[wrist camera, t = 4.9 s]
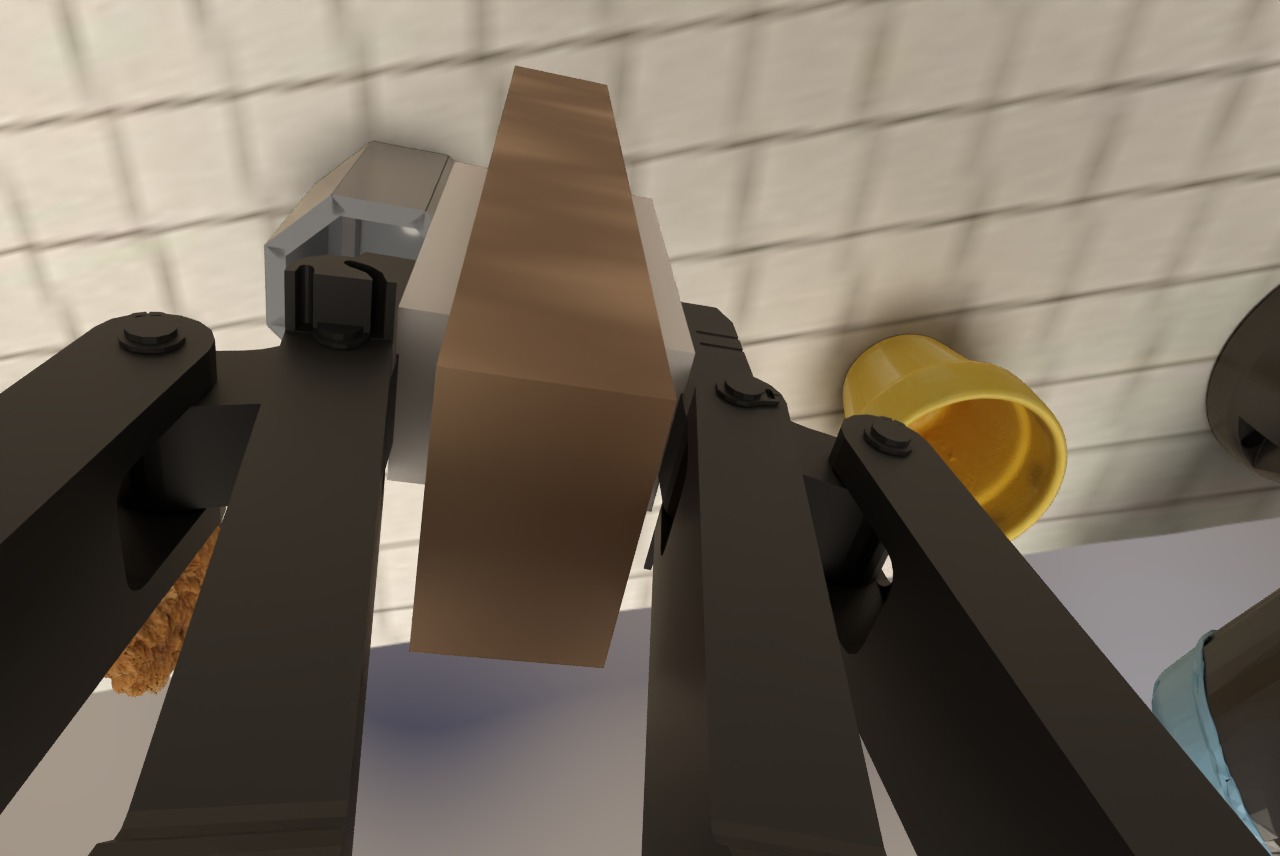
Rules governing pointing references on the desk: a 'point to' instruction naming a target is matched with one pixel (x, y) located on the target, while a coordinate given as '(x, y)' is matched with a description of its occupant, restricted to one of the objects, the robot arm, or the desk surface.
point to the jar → (358, 214)
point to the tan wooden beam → (543, 396)
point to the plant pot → (967, 423)
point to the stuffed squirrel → (162, 632)
